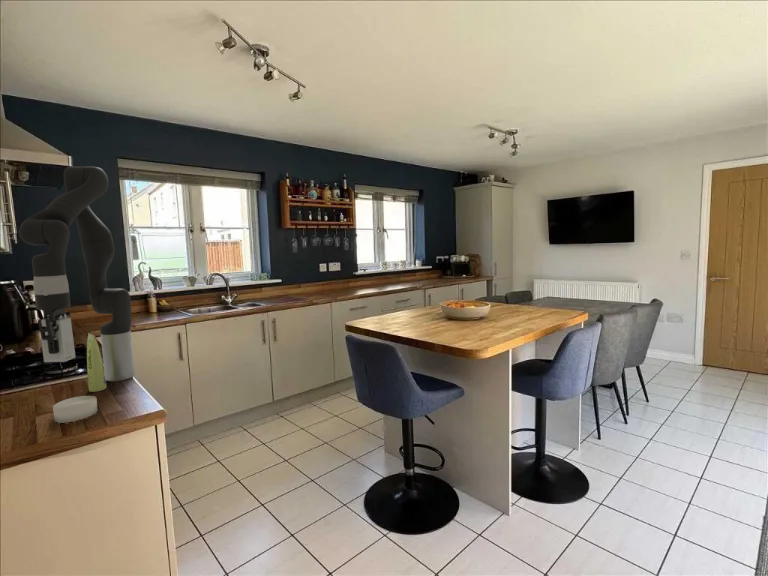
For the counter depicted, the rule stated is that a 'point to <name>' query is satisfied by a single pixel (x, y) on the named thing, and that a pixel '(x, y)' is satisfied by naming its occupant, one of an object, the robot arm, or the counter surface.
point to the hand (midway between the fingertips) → (58, 350)
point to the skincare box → (61, 343)
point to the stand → (75, 409)
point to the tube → (95, 366)
